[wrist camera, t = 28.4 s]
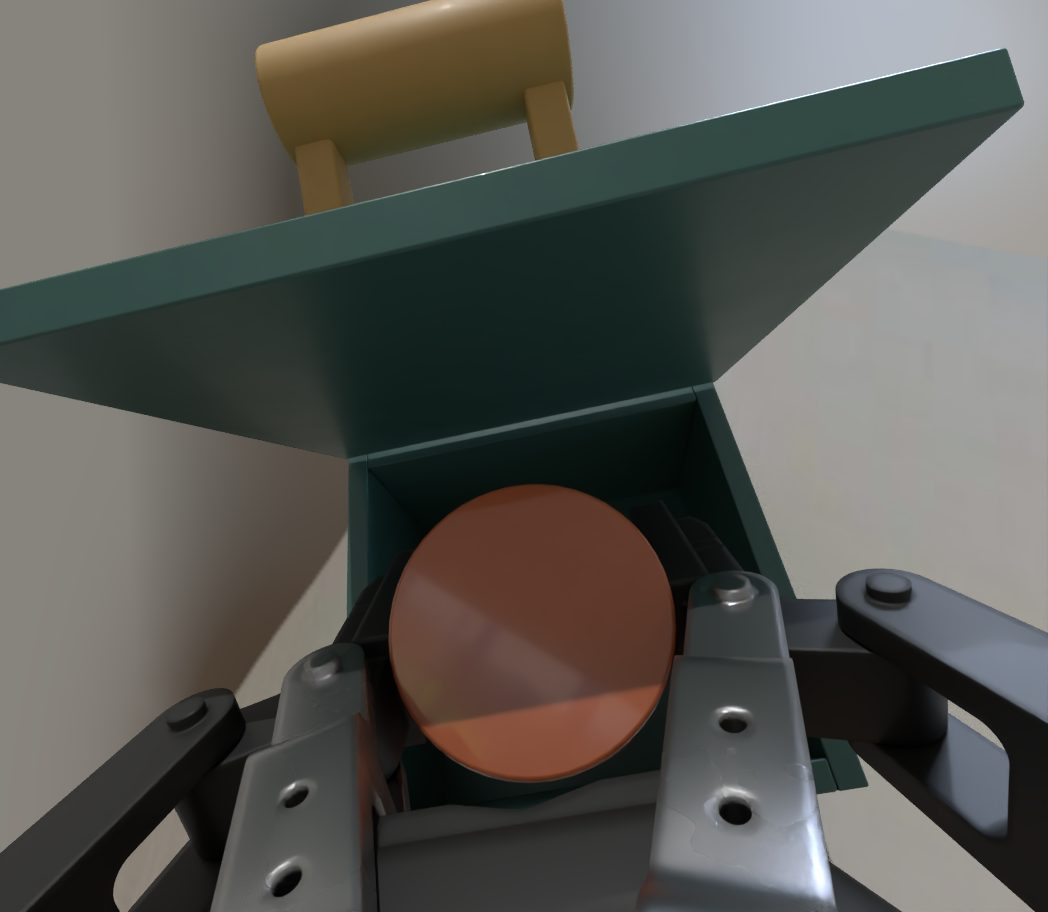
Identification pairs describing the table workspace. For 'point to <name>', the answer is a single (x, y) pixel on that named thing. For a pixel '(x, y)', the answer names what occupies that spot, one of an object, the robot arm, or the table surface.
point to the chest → (607, 474)
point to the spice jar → (532, 633)
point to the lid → (492, 242)
